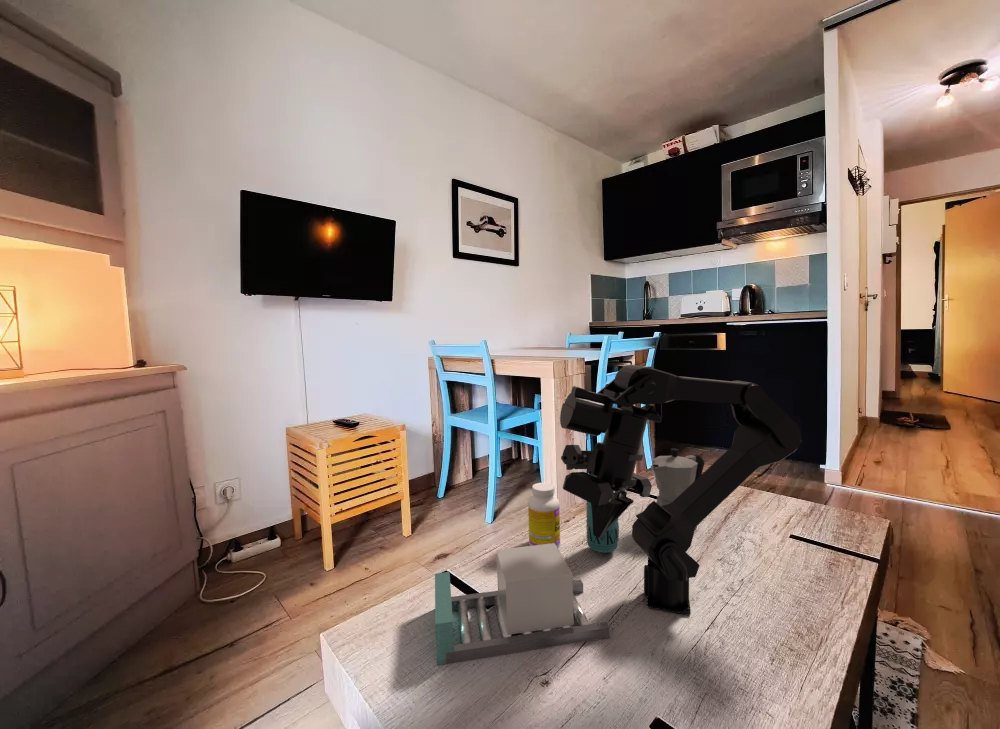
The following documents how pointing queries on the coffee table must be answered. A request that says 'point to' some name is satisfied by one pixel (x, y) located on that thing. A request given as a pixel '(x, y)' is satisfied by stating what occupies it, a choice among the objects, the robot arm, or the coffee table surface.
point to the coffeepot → (675, 474)
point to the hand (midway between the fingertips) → (597, 536)
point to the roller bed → (508, 642)
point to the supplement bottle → (544, 515)
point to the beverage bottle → (608, 539)
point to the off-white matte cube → (534, 588)
